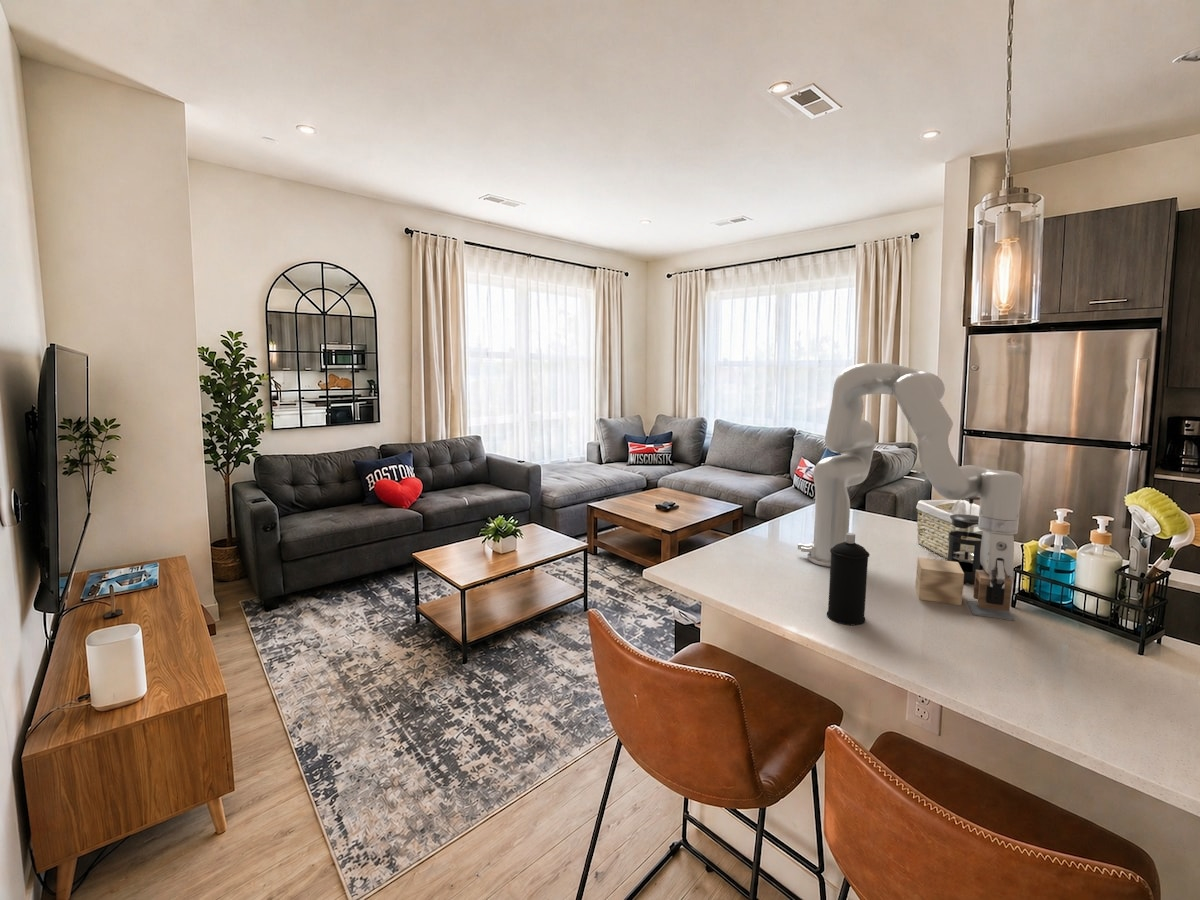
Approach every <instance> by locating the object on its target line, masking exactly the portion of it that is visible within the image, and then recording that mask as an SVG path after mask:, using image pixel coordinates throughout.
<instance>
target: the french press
mask: <svg viewBox="0 0 1200 900" xmlns="http://www.w3.org/2000/svg"><path fill="white" fill-rule="evenodd" d="M980 497H981V496H973V497H967V498H965V500H968V502H969V503H970V512H969V515H965V514H955V515H951V516H950V518H951V519H952V523H951V524H952V525H953V526H955V527H958V528H968V532H964V531H958V530H951V532H950V533H949V536H948V539H949V550H948V559H947V561H953V562H958V563H959V565H960V567H961V569H962V571H963V572H964V582H963V585H964V584H965V585H972V584H975V572H976V570H982V569H983V566H982V565H981V562H980V550H981V541H972V540H969V537H973V538H978V539H981V540H982V535H981V534H977V533H972V532H969V530H970V526H972V525H976V524H978V520H979V516H974V515H971V507H972V504H973V503H974V501H978V500H979V501H980ZM961 536H967V540H965V539H961ZM961 544H965V545H967V546H966V551H960V545H961ZM968 545H973V546H974V553H972V552H968ZM969 562H970V563H969Z"/></svg>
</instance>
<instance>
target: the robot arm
mask: <svg viewBox="0 0 1200 900" xmlns="http://www.w3.org/2000/svg"><path fill="white" fill-rule="evenodd" d="M833 385H834V386H833V387H832V388H833V390H832V398H831V405H830V409H829V410H830V411H829V413H828V414H829V415H828V420H827V424H826V430H825V436H824V444H825V447H826V448H827V449H828V450H829V451H830V452H833V453H837V454H838V455H833V456H832V455H831V456H828V457H825V458H822V459H820V460H819V461H818V462H817V463H816V465H815V467H814V468H813V476H812V478H813V484H814V493H815V498H814V499H815V501H814V502H815V503H814V504H815V505H814V523H813V524H814V526H813V541H812V543H808V544H806V543H805V544H804V543H799V542H798V543H797V550H800V552H802V553H806V552H807V557H806V558H807V560H808V561H809V562H811V563H813V564H815V565H817V566H818V565H819V566H822V567H826V568H827V567H829V568H830V566H831V552H830V549H831V548H833V547H834V546H835V545H836V544H839V543H842V542H846V533H850V519H851V518H850V517H851V515H850V514H851V501H850V500H851V499H850V496H849V493H848V489H847V488H848V487H853V486H856V485H860V484H862V483H863V482H864V481H865V480H866V479H867V477H868V475H869V472H870V469H871V464H872V460H873V454H874V451H875V445H876V439H877V437H876V431H875V428H874V426H873V425H872V424H871V423H870V422H869V421H868V420H865V419H862V417H863V413H864V400H863V396H866V395H889V396H893V397H894V400H896V401H895V402H897V404H898V406H899V408H900V410H901V412H902V413H903V415H904V416H905V418H906V420H907V422H908V424H909V425H910V428H911V429H912V431H913V433H914V434H915V436H916V438H917V452H918V458H919V463H920V465H921V468H922V470H923V471H924V472H923V473H924V474H925V475H926V478H927V480H928V481H929V482H930V484H931V486H932V487H933V489H934V490H935V491H936V492H937V493H938V494H939V495H940V496H941V497H942V498H944V499H945V500H964V499H966V498H967V497H973V496H977V497H980V500H979V506H980V509H979V520H978V529H980V530H982V531H983V532H982V540H981V550H980V562H981V565H982V566H983V569H982V570H983V571H986V572H987V573H988V574H989V586H987V594H986V602H987V603H990V604H997V605H1003V600H1004V587H1005V574H1004V573H1006V575H1007V576H1008V577H1009V578H1011V577H1013V575H1014V562H1015V561H1014V557H1015V556H1014V555H1015V539H1014V537H1015V536H1014V535H1017V534H1018V532H1019V531H1018V530H1019V524H1020V522H1019V521H1020V510H1021V501H1022V489H1023V476H1021V474H1019V473H1018V472H1015V471H1011V470H1010V471H1009V470H997V469H990V468H987V467H982V466H978V465H972V464H967V465H961V466H960V465H959V464H958V463H957V461H956V460H955V458H954V455H953V454H952V452H951V450H950V449H951V448H950V445H949V436H950V434H951V431H952V429H953V426H954V422H953V420H952V418H951V416H950V414H949V413H948V411H947V410H946V408H945V406H944V405H943V403H942V402H941V400H942V398H943V397H944V395H945V389H946V388H945V384H944V382H943V380H942V379H941V378H940V377H939V376H937V375H936V374H934V373H931V372H926V371H923V370H919V369H914V368H910V367H908V366H907V367H906V366H902V365H899V364H895V363H887V362H886V363H885V362H884V363H882V362H881V363H879V362H878V363H876V362H867V363H858V364H854V365H851V366H848V367H847V368H844V369H843V370H842V371H841V372H840V373H839V374H838V375H837V378H836V379H835V381H834V383H833ZM839 454H840V455H839ZM992 572H997V574H993V573H992ZM993 577H996V579H995V578H994V580H993Z"/></svg>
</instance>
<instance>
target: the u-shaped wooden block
mask: <svg viewBox="0 0 1200 900" xmlns="http://www.w3.org/2000/svg"><path fill="white" fill-rule="evenodd" d="M992 573H993V574H997V572H992ZM1004 574H1005V587H1004V600H1003V605H997V604H990V603H987V602H986V594H987V586H989V574H988V573H987V572H986V571H983V570H976V572H975V584H974V585H973V599H974V600H977V602H978V603H977V605H978V607H984V608H991V609H998V610H1005V611H1011V610H1010V608H1011V600H1012V599H1011V597H1012V589H1013V588H1012V587H1013V586H1012V585H1013V581H1012V579H1011V577H1008V576H1007V575H1006V573H1005V572H1004ZM994 578H995V579H996V577H993V580H994Z"/></svg>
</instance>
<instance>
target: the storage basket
mask: <svg viewBox="0 0 1200 900" xmlns="http://www.w3.org/2000/svg"><path fill="white" fill-rule="evenodd" d="M979 509H980V504H975V503H974V502H973V504H972V507H971V515H974V516H979ZM916 510H917V523H916V526H917V528H916V529H917V543H918V544H919V545H921V546H922V547H924V548H925V549H928V550H930V551H931V552H934V553H936V554H937V555H939V556H941V557H943V558H945V559H947V560H948V550H949V539H948V536H949V533H950V532H951V530H958V531H964V532H968V528H958V527H955V526H953V525H952V524H951V523H952V519H951V518H950V516H951V515H955V514H965V515H969V512H970V503H969V500H968V501H967V499H959V500H949V499H934V500H933V499H928V500H927V499H925V500H923V499H921V500H918V502H917V504H916ZM945 510H950V511H945ZM969 532H972V533H977V534H981V535H982V532H983V531H982V530H980V529H978V524H976V525H972V526H970V530H969ZM961 539H965V540H967V536H961ZM969 540H972V541H981V539H978V538H973V537H969ZM966 546H967V545H965V544H961V545H960V551H966ZM968 552H972V553H974V546H973V545H968ZM969 563H970V562H969Z"/></svg>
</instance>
